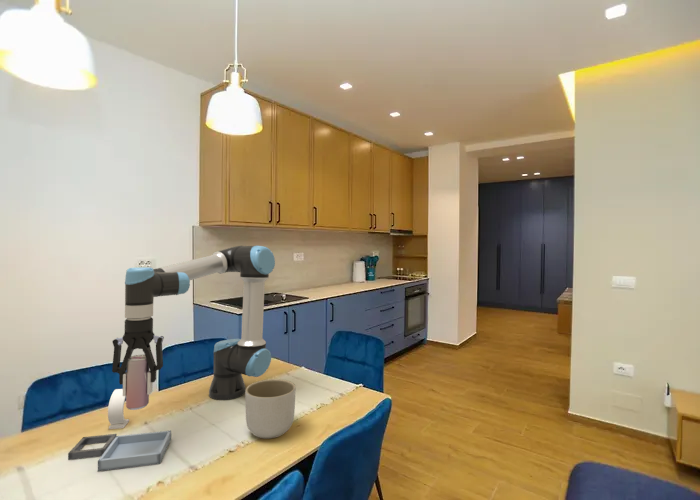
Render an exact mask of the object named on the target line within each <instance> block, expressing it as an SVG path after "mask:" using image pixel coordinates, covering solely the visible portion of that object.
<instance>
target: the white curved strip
mask: <svg viewBox="0 0 700 500" xmlns="http://www.w3.org/2000/svg"><path fill="white" fill-rule="evenodd" d="M125 403H126V396H123V388H115V389H114V390H113V392H112V394H111V396H110V399H109V402H108V407H107V420H108V422H109V424H110V425H109V426H108V430H115V429H116V430H117V429H118V430H119V429H124V428H125V427H126V425H128V423H129V422H130V419H129V418H128V419H127V418H125V415H124V414H125V413H124V409H125Z"/></svg>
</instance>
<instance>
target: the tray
mask: <svg viewBox="0 0 700 500" xmlns="http://www.w3.org/2000/svg"><path fill="white" fill-rule="evenodd" d="M171 440H172V430H171V429H170V430H163V431H162V430H161V431H153V432H151V431H150V432H143V433H141V432H140V433H133V434H132V433H131V434H123V435H117V436H116V437H115V439H114V440H113V441H112V443H111V444H110V445H109V447H108V448H107V449H106V451H105V452H104V453H103V455H102V456H99V459H98V460H97V472H98V473H99V472H105V471H106V472H107V471H113V470H114V471H115V470H123V469H129V468H130V469H131V468H138V467H145V466H156V465H160V464H161V462H162V461H163V459H164V456H165V454H166V451H167V449H168V447H169V445H170V443H171Z"/></svg>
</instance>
